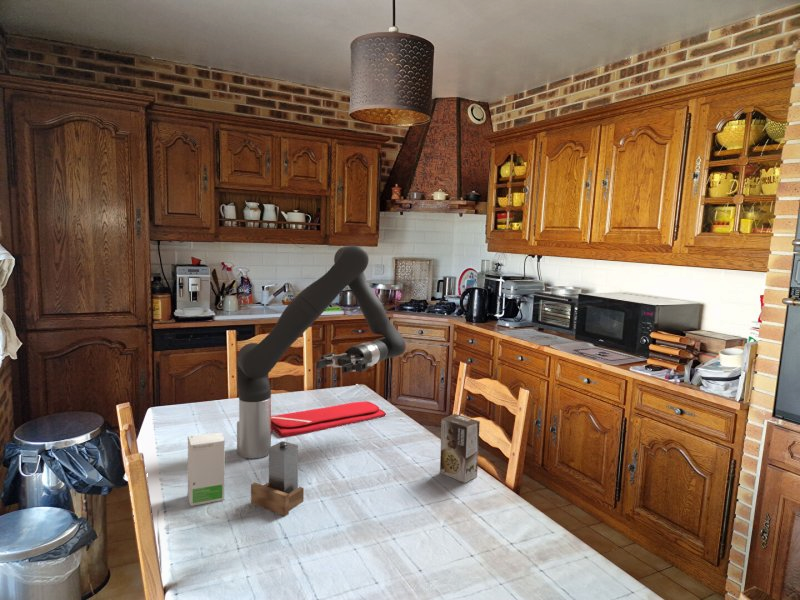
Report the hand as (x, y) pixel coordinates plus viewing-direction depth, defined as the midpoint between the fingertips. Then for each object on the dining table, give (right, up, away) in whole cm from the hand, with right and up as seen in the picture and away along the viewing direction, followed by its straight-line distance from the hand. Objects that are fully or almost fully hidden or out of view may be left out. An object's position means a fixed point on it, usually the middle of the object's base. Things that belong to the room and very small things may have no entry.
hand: (330, 367), depth 142 cm
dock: (-11, -32, -14) cm, 36 cm away
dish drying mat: (-7, -25, +44) cm, 51 cm away
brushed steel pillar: (-10, -32, -13) cm, 35 cm away
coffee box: (+36, -31, +4) cm, 48 cm away
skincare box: (-29, -31, -13) cm, 45 cm away
